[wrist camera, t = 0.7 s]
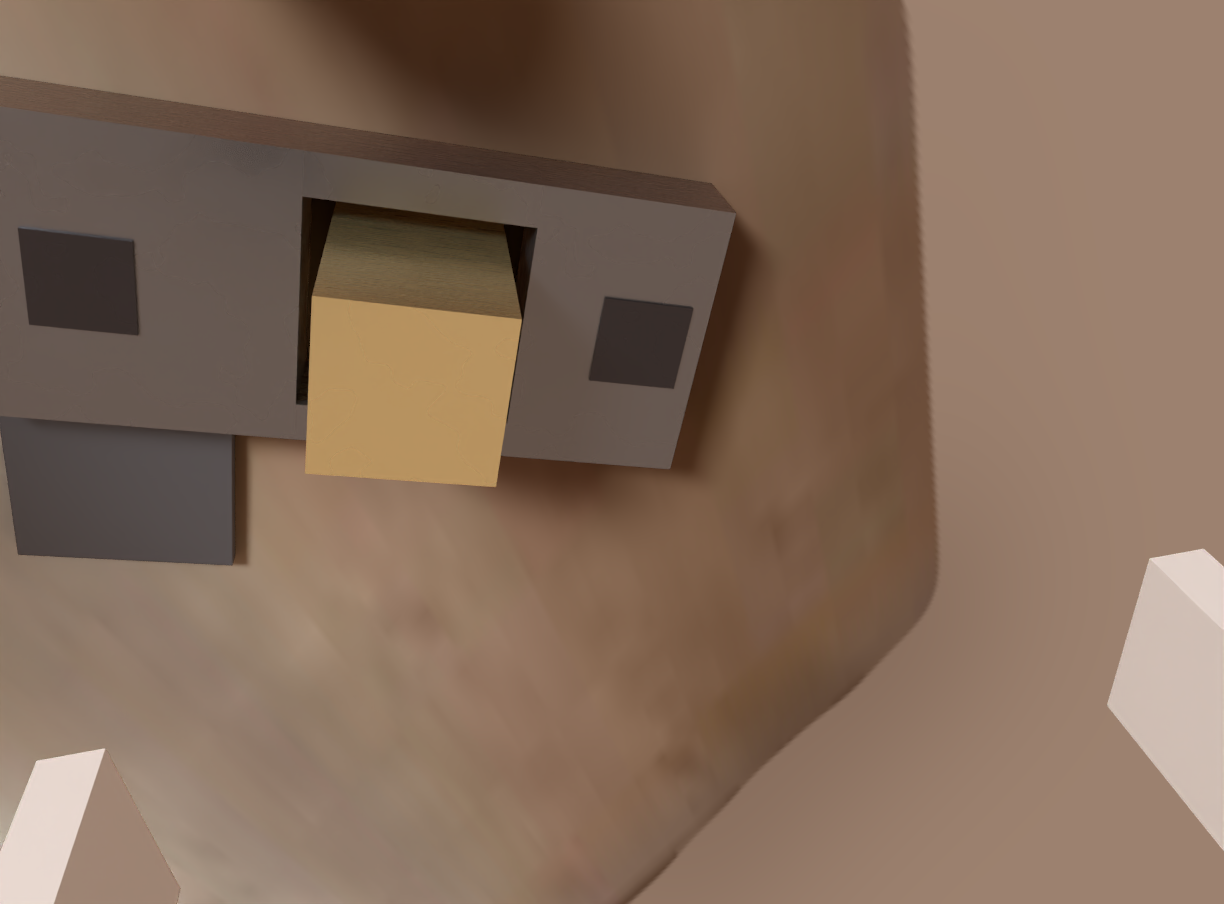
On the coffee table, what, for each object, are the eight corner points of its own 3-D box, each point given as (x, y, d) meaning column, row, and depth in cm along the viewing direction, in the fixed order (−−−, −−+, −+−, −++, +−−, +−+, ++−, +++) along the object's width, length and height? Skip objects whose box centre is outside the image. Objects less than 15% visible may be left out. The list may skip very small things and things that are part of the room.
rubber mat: (24, 544, 34) (18, 554, 34) (-1, 366, 31) (-8, 375, 30) (235, 555, 36) (232, 565, 35) (234, 387, 32) (231, 396, 32)
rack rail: (-18, 364, 31) (-60, 413, 28) (-63, 66, 26) (-116, 90, 24) (653, 425, 36) (670, 470, 33) (711, 183, 31) (737, 214, 29)
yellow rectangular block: (330, 341, 32) (304, 473, 25) (338, 193, 30) (311, 295, 23) (482, 357, 33) (495, 487, 27) (501, 215, 31) (521, 319, 24)
